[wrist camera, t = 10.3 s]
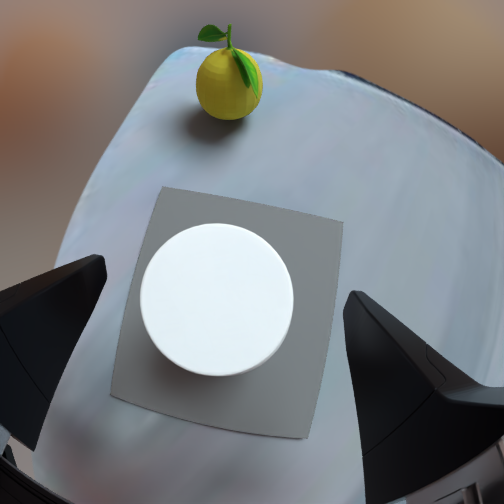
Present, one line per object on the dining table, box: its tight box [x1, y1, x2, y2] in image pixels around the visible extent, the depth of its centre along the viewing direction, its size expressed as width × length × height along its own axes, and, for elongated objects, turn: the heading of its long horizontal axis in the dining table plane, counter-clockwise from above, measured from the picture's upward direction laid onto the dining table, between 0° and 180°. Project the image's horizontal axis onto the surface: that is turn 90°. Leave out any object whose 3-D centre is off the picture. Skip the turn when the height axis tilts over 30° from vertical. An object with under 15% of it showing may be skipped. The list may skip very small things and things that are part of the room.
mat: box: [110, 187, 343, 439], centre depth 18 cm, size 16×14×1 cm
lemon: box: [196, 24, 263, 120], centre depth 18 cm, size 7×6×10 cm
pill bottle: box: [140, 223, 293, 376], centre depth 12 cm, size 6×6×10 cm
